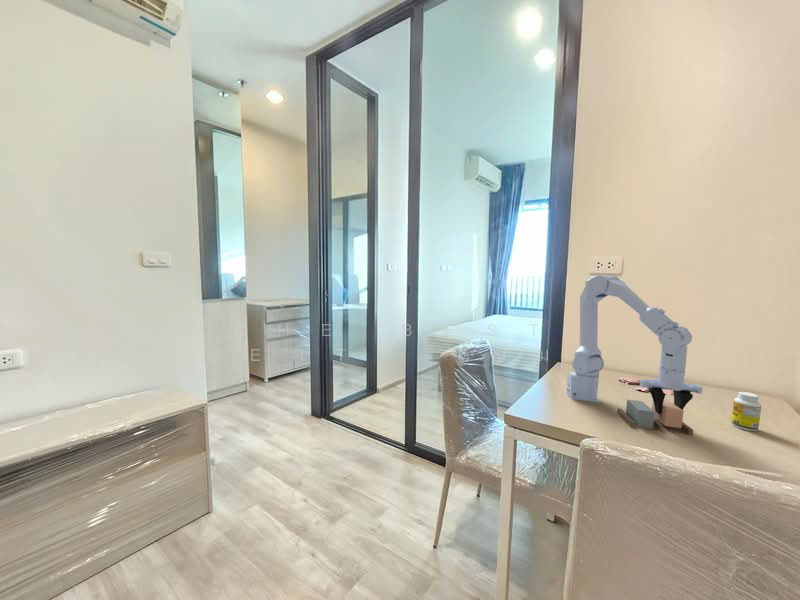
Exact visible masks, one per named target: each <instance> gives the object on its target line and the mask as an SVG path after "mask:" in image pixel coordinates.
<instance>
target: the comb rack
mask: <svg viewBox="0 0 800 600" xmlns="http://www.w3.org/2000/svg"><path fill="white" fill-rule="evenodd" d="M616 413H617V414H618V416H619V417H620V418H621V419H622V420H623V421H624V423H626V424H627V425H628V426H629V427H630V428H633V429H639V430H641V429H642V430H648V431H656V432H665V433H673V434H679V435H680V434H681V435H687V436H694V429H693V428H691V427H690V426H689V425H687V424H686V423H685V422H684V421H682V428H677V427H669V426H665V425H663V424H662V423H661V422H660V421H659V420H657V419H656V418H655V417H654V425H653V429H652V428H644V427H637V426H636V425H635V422H634V421H633V420H632V419H631V418H630V417H629V416H628V415H627V414H626V411H624V410H623V408H617V411H616Z"/></svg>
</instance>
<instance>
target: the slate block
mask: <svg viewBox="0 0 800 600" xmlns="http://www.w3.org/2000/svg"><path fill="white" fill-rule="evenodd" d="M625 413H626V414H627V415H628V416H629V417H630V418H631V419H632V420H633V421H634V422H635V425H636V426H637V427H644V428H652V429H653V425H654V415H655V412H654V411H653V410H652V407H649V405H647V404H646V403H645V401H642V400H634V399H626V409H625Z"/></svg>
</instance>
